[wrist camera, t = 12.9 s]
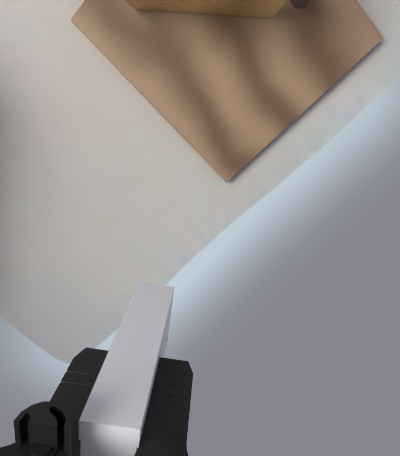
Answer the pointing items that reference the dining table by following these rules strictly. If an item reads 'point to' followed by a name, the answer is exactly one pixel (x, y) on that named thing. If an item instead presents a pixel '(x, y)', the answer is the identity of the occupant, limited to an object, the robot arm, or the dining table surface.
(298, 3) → the steel leaf and pin
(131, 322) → the robot arm
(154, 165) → the dining table surface
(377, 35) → the walnut board
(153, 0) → the panel
